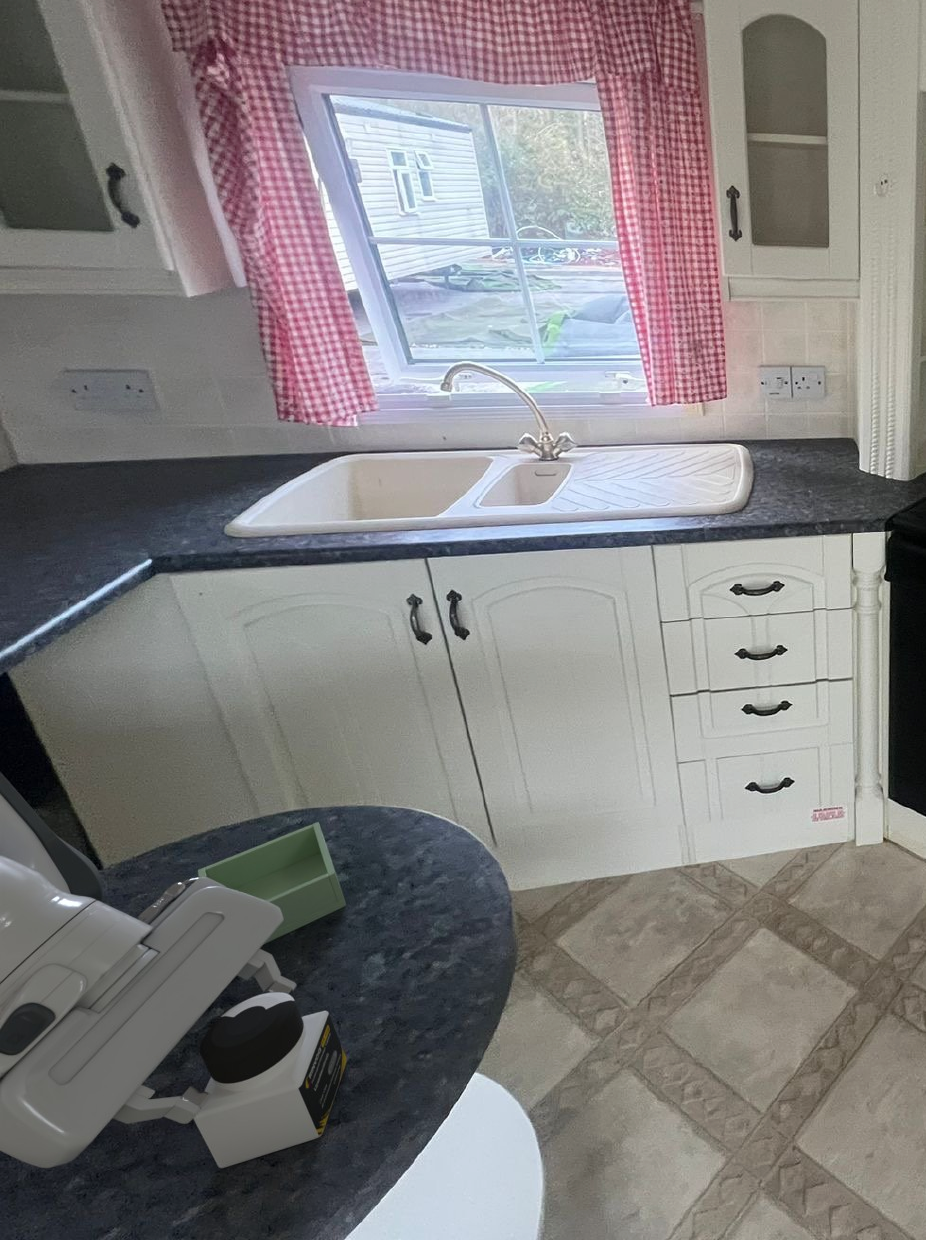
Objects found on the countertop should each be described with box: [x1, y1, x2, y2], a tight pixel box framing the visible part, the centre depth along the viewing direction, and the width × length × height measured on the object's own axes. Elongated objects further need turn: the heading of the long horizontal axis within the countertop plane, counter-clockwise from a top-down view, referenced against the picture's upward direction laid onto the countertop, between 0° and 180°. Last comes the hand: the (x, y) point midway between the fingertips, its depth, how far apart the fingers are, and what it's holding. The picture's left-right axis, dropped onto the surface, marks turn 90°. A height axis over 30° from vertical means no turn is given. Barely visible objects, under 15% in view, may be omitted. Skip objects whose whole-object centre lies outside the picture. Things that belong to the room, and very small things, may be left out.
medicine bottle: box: [192, 992, 348, 1169], centre depth 67 cm, size 7×7×12 cm
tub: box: [197, 821, 347, 945], centre depth 87 cm, size 11×11×5 cm
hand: (246, 1049), depth 66 cm, fingers open, 8 cm apart
